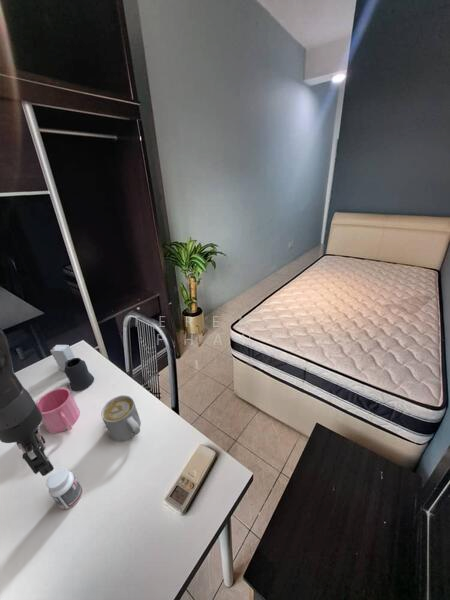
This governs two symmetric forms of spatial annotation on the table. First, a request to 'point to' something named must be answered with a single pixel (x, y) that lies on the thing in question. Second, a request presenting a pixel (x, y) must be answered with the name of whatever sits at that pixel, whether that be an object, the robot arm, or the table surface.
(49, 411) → the pink ribbed cup
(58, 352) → the cosmetic box
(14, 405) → the robot arm
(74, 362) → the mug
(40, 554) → the table surface
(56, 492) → the pill bottle
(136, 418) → the coffee mug
